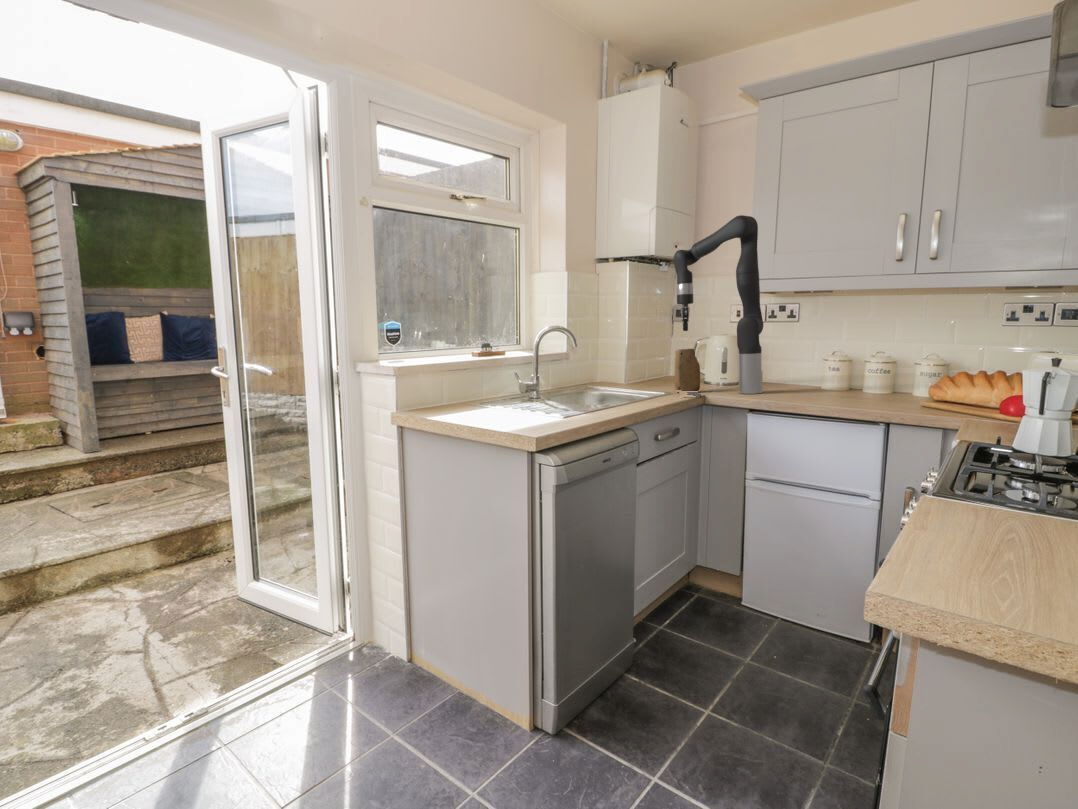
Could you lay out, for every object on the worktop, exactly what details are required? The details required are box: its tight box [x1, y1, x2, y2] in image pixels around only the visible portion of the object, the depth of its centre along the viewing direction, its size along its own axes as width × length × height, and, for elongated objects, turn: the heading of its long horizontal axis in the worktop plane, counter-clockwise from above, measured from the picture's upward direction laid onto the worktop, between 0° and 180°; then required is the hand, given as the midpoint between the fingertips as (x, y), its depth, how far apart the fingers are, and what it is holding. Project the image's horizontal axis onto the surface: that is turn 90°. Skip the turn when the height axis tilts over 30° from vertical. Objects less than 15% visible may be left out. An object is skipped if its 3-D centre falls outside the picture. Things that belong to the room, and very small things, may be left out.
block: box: [674, 348, 701, 392], centre depth 266 cm, size 11×8×20 cm
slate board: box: [687, 391, 701, 398], centre depth 253 cm, size 8×12×1 cm, turn 169°
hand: (685, 330), depth 275 cm, fingers closed
